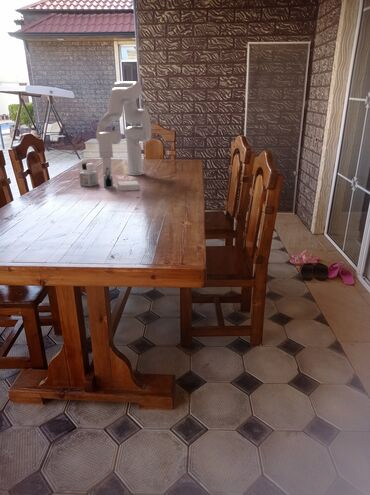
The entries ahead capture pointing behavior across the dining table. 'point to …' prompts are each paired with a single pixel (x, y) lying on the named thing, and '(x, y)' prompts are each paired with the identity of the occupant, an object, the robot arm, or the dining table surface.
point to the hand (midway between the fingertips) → (108, 184)
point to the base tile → (128, 185)
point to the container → (88, 175)
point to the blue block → (105, 182)
